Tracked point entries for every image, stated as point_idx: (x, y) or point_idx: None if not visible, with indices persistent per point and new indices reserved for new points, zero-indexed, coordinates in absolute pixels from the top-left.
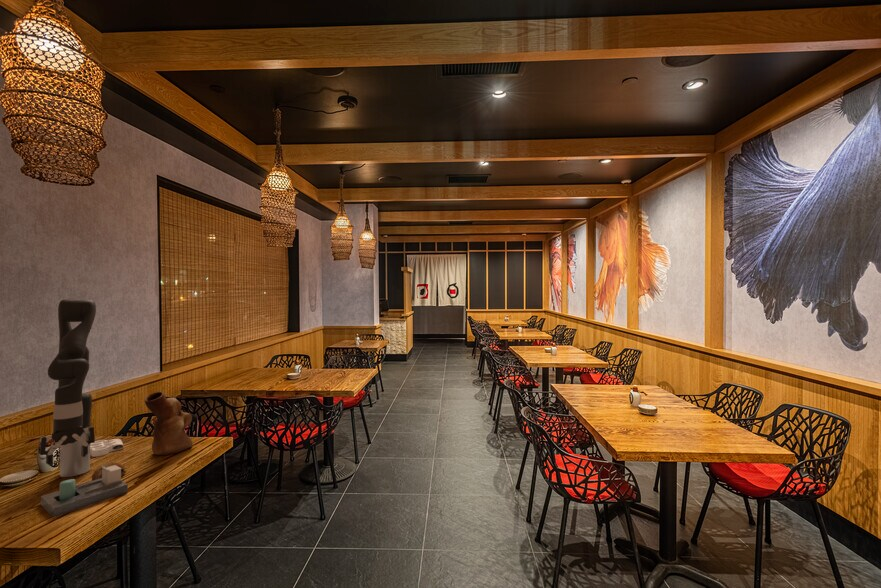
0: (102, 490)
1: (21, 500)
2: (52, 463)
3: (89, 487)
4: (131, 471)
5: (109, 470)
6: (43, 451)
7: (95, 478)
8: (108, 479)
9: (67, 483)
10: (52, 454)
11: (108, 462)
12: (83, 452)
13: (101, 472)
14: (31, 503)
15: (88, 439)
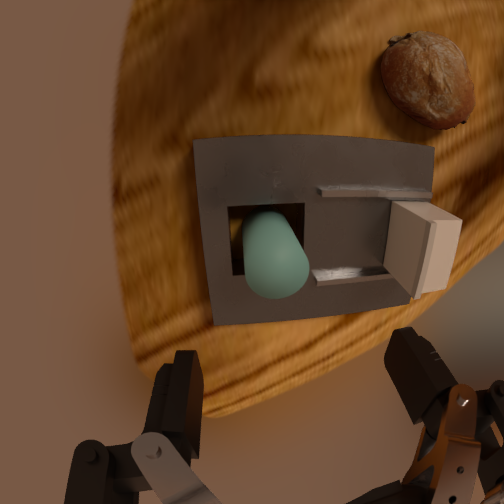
0: (355, 294)
1: (160, 29)
2: (200, 393)
3: (347, 219)
4: None
5: (417, 297)
6: (127, 497)
7: (393, 88)
8: (396, 276)
9: (270, 298)
10: (193, 455)
11: (460, 68)
12: (398, 389)
13: (421, 98)
14: (177, 92)
15: (496, 410)
